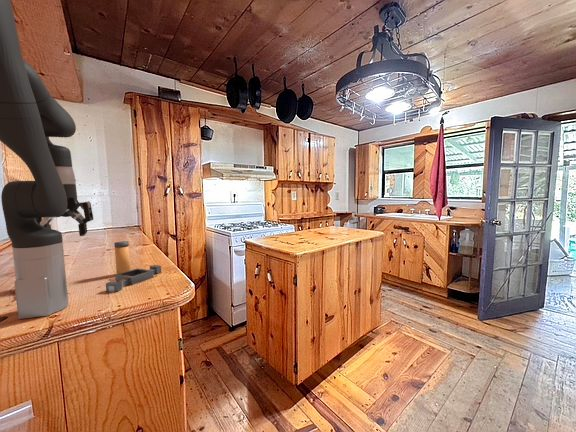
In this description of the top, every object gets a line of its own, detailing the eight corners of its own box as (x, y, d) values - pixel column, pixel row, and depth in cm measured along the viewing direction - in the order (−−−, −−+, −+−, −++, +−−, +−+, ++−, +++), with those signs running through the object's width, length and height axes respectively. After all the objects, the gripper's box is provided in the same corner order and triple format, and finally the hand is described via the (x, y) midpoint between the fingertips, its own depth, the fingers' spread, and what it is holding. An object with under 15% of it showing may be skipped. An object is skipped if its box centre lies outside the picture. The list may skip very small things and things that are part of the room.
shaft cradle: (113, 293, 77) (112, 284, 77) (93, 289, 81) (93, 281, 81) (168, 273, 96) (168, 266, 96) (150, 270, 100) (150, 264, 99)
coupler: (128, 275, 95) (126, 243, 94) (115, 276, 94) (112, 243, 93) (132, 271, 99) (129, 240, 98) (119, 272, 98) (116, 241, 97)
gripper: (19, 183, 70) (28, 241, 72) (81, 182, 74) (88, 237, 76) (37, 182, 77) (44, 235, 79) (92, 182, 81) (98, 232, 84)
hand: (66, 236), depth 78 cm, fingers open, 8 cm apart
